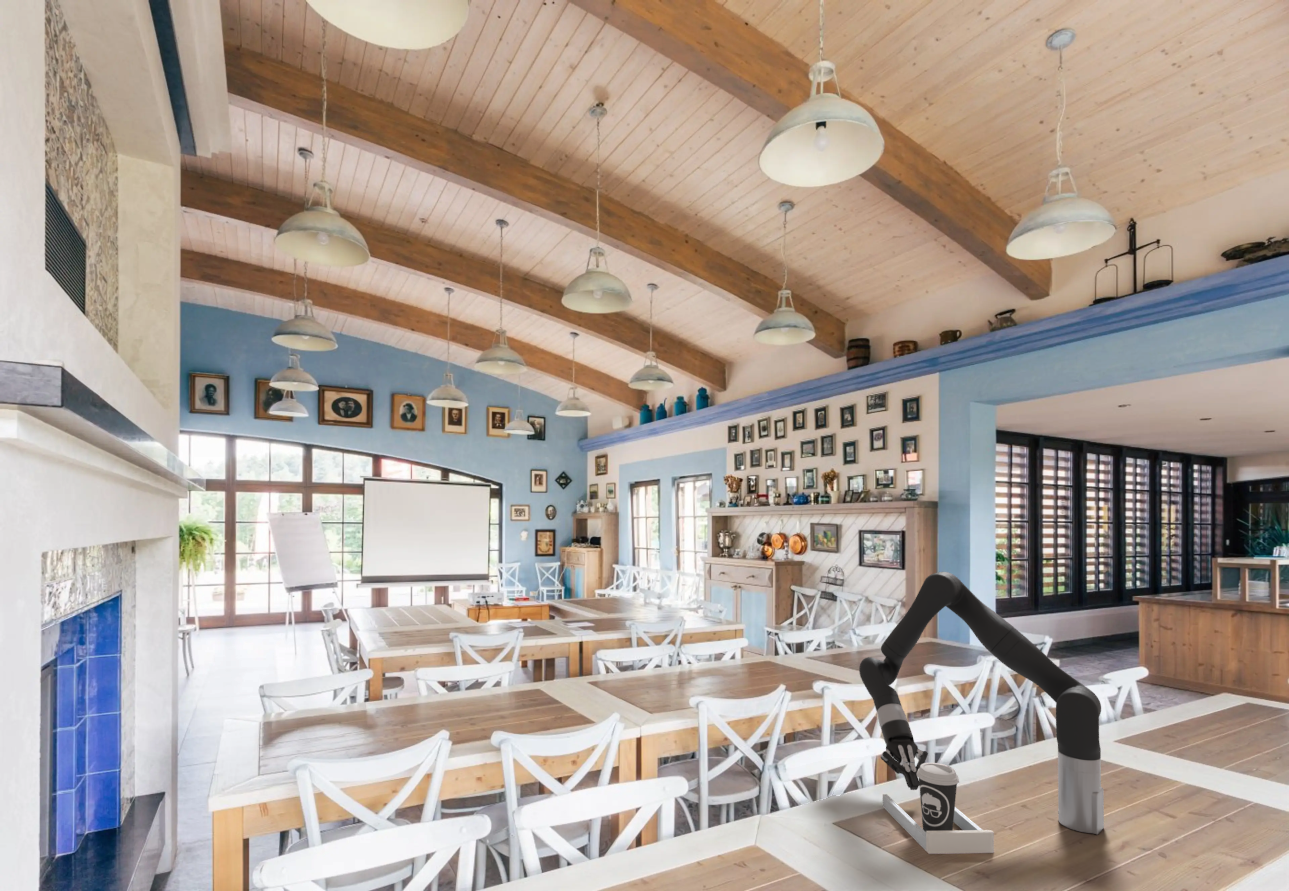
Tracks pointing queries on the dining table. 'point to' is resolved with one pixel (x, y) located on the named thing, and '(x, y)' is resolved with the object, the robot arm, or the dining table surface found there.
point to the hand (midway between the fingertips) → (914, 788)
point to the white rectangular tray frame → (944, 833)
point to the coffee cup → (937, 796)
